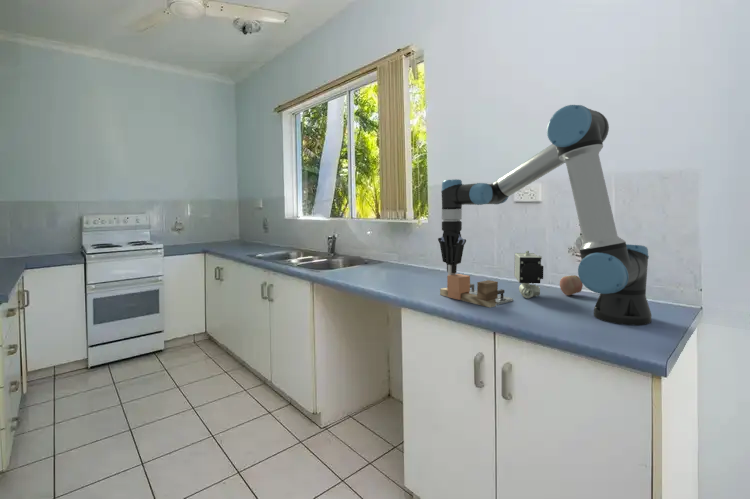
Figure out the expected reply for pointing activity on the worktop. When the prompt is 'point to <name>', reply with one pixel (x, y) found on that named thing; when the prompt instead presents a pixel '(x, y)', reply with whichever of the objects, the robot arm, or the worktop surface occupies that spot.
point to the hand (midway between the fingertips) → (451, 281)
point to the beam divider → (481, 294)
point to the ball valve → (528, 273)
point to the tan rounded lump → (570, 285)
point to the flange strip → (499, 299)
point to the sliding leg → (458, 285)
